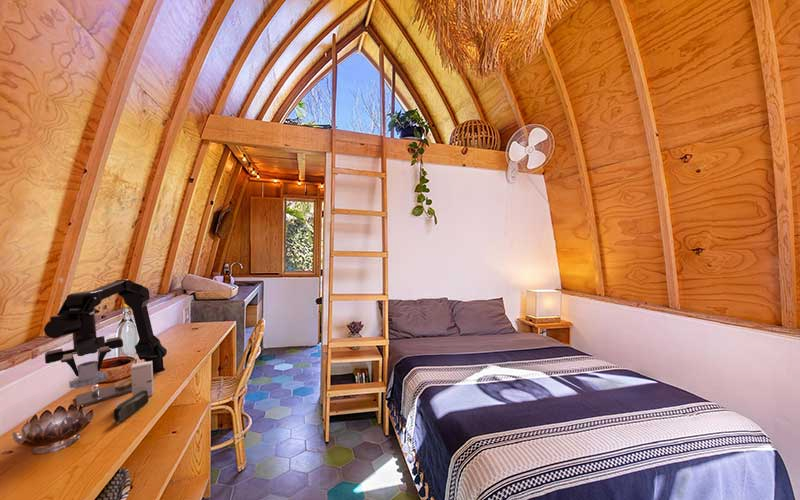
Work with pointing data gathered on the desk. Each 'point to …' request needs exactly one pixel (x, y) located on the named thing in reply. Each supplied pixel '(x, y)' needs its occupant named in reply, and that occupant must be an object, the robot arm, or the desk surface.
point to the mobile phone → (130, 406)
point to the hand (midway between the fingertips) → (88, 373)
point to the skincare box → (142, 377)
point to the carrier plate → (104, 392)
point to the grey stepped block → (87, 375)
